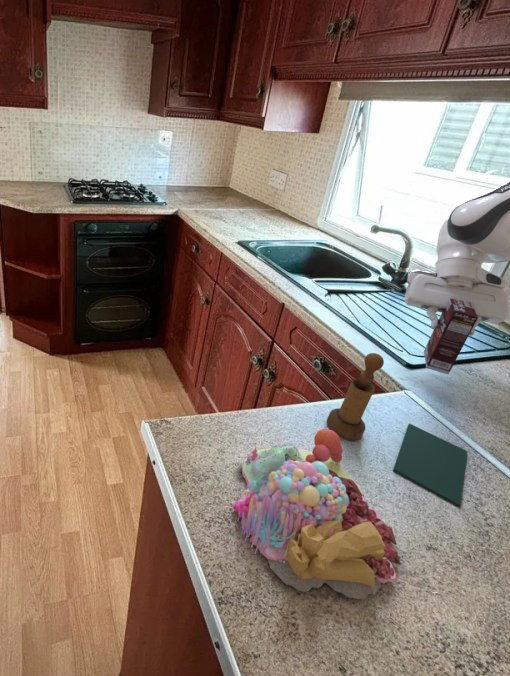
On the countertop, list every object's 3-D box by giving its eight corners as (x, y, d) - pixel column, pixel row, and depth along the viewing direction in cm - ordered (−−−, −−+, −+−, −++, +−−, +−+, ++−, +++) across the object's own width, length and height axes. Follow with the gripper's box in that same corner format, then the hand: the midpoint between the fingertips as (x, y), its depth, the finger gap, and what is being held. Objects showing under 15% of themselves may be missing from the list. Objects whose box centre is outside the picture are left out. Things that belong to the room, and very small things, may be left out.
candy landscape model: (432, 589, 55) (464, 548, 51) (277, 620, 50) (298, 578, 45) (322, 444, 76) (338, 407, 72) (206, 455, 71) (216, 416, 67)
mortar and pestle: (321, 426, 81) (351, 352, 73) (333, 411, 85) (363, 340, 77) (355, 446, 77) (391, 371, 69) (366, 430, 81) (402, 357, 73)
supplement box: (422, 351, 102) (448, 295, 95) (444, 357, 100) (473, 301, 93) (424, 368, 96) (453, 309, 88) (448, 375, 94) (480, 316, 86)
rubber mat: (408, 424, 84) (409, 423, 83) (466, 452, 78) (467, 451, 78) (392, 470, 72) (393, 469, 72) (459, 507, 67) (460, 505, 67)
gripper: (414, 263, 97) (408, 316, 93) (515, 281, 92) (513, 339, 88) (402, 273, 103) (396, 323, 99) (496, 291, 98) (494, 345, 94)
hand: (452, 331), depth 93 cm, fingers closed on supplement box, 5 cm apart
